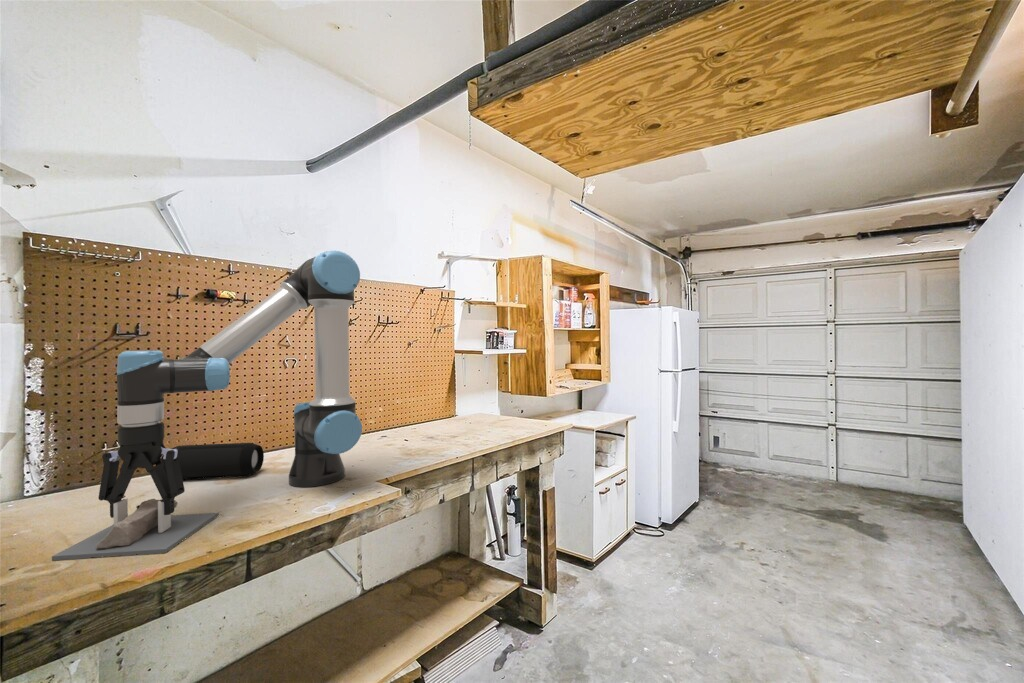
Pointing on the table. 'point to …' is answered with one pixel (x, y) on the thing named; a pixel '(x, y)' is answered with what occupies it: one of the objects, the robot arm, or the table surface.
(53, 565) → the table surface
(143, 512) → the concrete fragment
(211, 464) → the portable speaker
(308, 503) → the table surface
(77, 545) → the rubber mat
